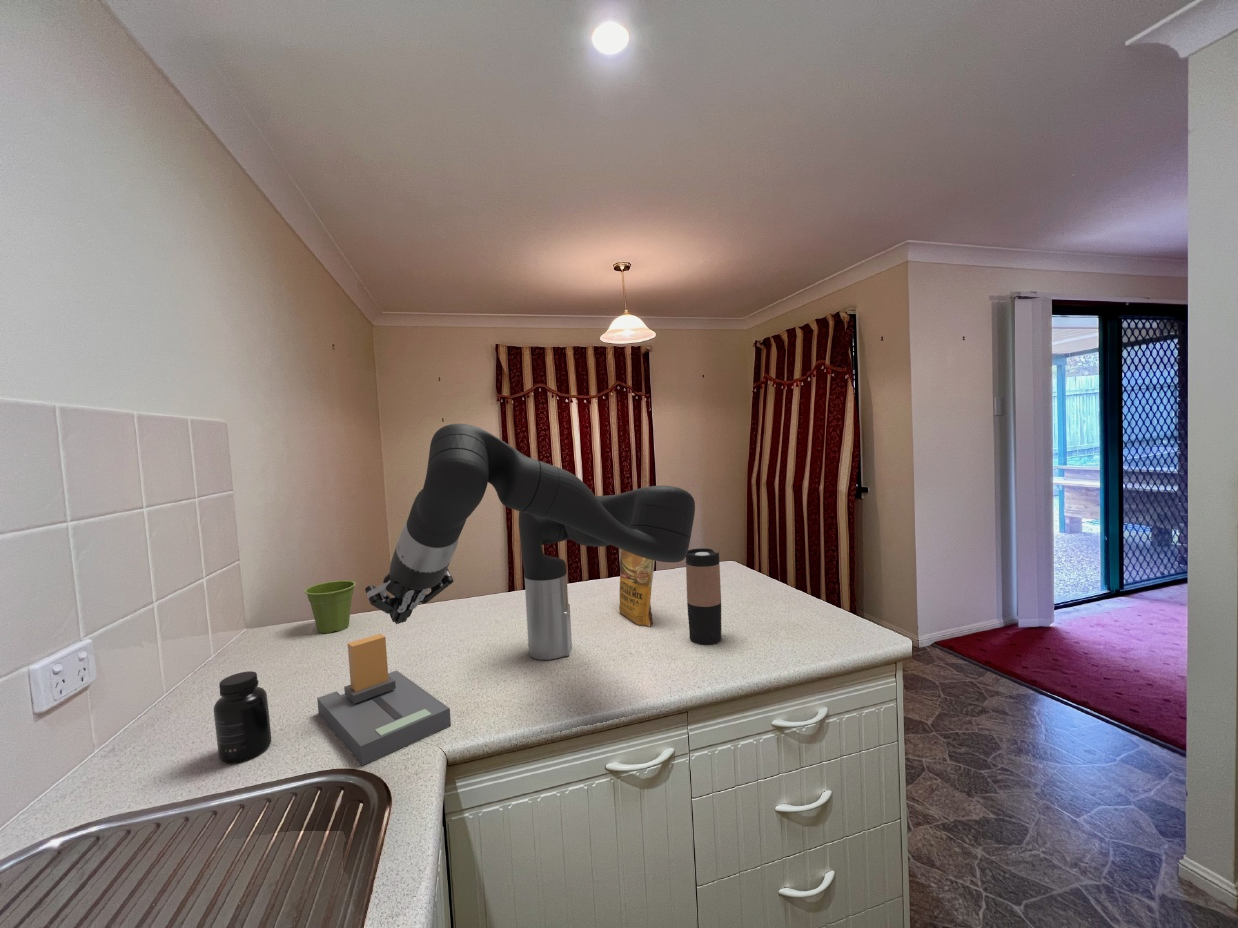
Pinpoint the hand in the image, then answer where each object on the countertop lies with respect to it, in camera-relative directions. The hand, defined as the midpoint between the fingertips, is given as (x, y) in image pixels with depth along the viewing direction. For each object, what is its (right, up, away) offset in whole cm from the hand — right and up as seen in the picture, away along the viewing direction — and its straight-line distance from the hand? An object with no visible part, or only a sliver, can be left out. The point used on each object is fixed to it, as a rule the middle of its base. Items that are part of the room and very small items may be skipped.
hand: (398, 618), depth 81 cm
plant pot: (-40, -19, +55) cm, 71 cm away
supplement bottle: (-24, -21, +1) cm, 33 cm away
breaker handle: (-10, -17, +12) cm, 23 cm away
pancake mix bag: (+40, -16, +53) cm, 68 cm away
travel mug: (+54, -16, +37) cm, 67 cm away
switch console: (-6, -20, +8) cm, 22 cm away
